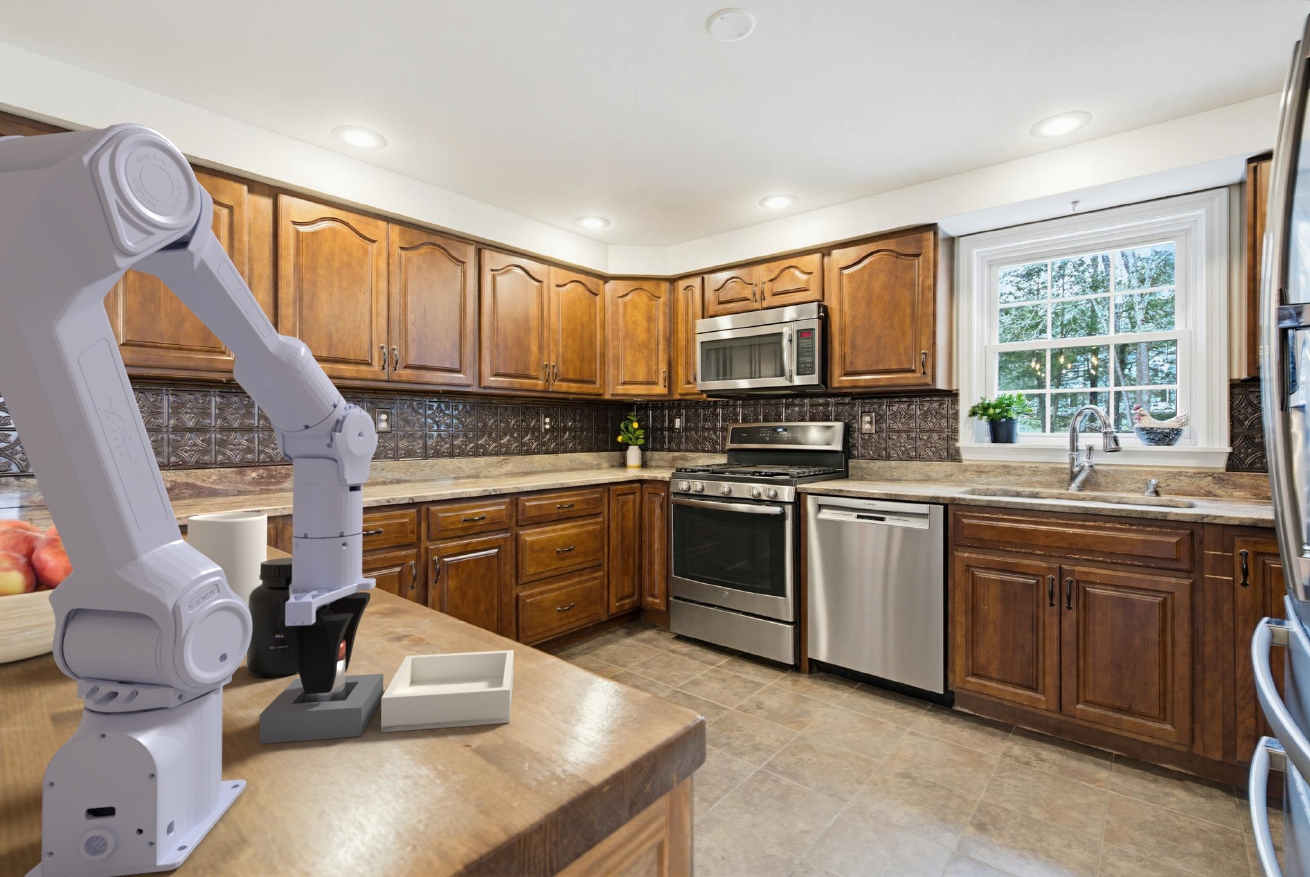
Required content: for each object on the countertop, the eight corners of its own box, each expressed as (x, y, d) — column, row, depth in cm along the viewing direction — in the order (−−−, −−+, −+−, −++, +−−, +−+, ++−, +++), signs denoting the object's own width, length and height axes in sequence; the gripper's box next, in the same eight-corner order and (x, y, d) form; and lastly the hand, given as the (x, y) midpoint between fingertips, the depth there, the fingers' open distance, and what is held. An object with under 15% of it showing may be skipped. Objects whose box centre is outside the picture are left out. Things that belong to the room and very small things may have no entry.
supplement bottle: (285, 681, 67) (286, 568, 67) (231, 676, 68) (232, 565, 68) (331, 659, 73) (332, 556, 73) (281, 655, 75) (281, 554, 75)
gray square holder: (361, 736, 55) (361, 707, 55) (259, 743, 53) (260, 713, 53) (383, 698, 62) (383, 673, 62) (295, 704, 61) (295, 678, 61)
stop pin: (339, 725, 57) (339, 647, 57) (302, 728, 56) (303, 649, 56) (348, 711, 59) (349, 637, 59) (314, 713, 59) (315, 638, 59)
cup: (258, 650, 76) (259, 518, 76) (176, 658, 73) (177, 521, 73) (271, 631, 84) (272, 511, 84) (197, 637, 81) (199, 513, 81)
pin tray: (509, 722, 57) (509, 689, 57) (381, 732, 55) (381, 697, 55) (513, 677, 68) (513, 649, 68) (406, 684, 66) (406, 655, 66)
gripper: (352, 545, 51) (351, 712, 51) (392, 522, 66) (390, 653, 66) (257, 548, 50) (255, 719, 50) (318, 524, 64) (317, 657, 64)
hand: (326, 682), depth 58 cm, fingers open, 4 cm apart
